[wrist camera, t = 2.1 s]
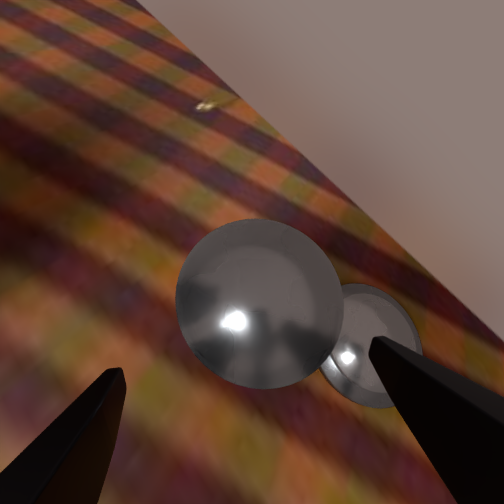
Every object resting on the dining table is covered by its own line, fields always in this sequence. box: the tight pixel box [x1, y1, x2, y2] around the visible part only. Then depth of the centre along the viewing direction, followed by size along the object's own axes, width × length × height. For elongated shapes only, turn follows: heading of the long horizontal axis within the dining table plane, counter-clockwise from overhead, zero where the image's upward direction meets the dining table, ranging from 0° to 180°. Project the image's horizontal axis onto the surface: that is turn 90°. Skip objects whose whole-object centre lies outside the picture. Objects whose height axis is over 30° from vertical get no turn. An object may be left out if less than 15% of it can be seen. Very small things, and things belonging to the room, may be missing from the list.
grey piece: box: [175, 219, 344, 389], centre depth 12 cm, size 5×5×12 cm
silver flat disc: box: [319, 283, 423, 408], centre depth 18 cm, size 9×9×1 cm
